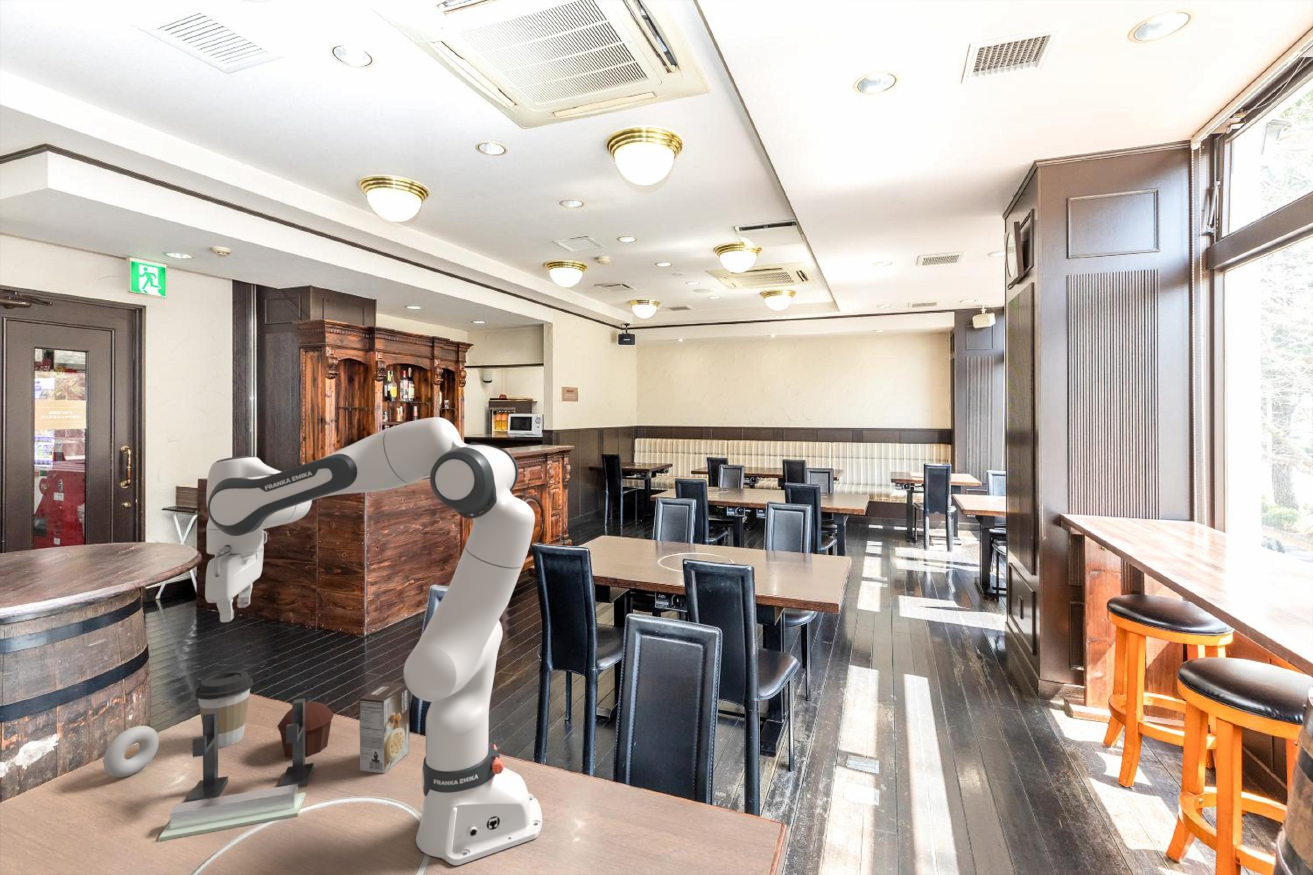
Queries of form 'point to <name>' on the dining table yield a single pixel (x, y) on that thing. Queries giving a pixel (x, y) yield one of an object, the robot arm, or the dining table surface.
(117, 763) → the donut
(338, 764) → the dining table surface
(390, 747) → the coffee box
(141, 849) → the dining table surface
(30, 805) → the dining table surface
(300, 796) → the mat
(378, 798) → the dining table surface
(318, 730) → the muffin
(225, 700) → the coffee cup
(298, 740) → the rack
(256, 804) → the rail
